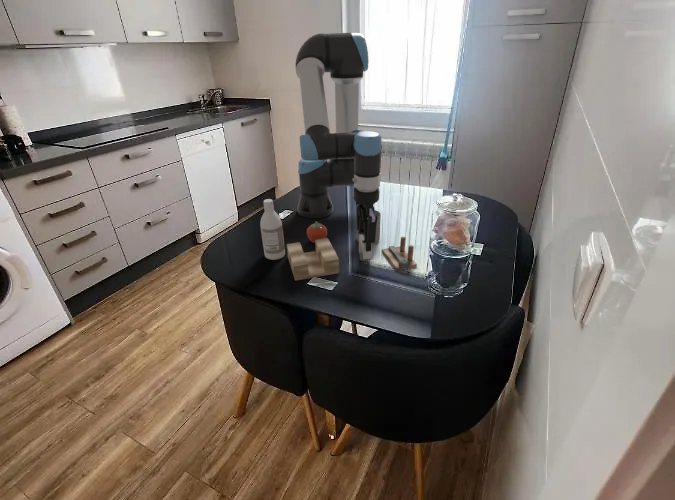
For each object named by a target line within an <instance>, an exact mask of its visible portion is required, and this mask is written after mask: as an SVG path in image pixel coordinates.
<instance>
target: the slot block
mask: <svg viewBox="0 0 675 500" xmlns="http://www.w3.org/2000/svg"><path fill="white" fill-rule="evenodd" d="M314 245H315V250H314V251H309V252H304V249H303V247H302V244H301V242H292V243H286V251H287V252H286V253H287V258H288V262H289V265H290V269H291V271H292V274H293V275H292V276H293V279H294V281H301V280H306V279H312V278H319V277H323V276H324V277H325V276H329V275H334V274H339V273H340V258H339V256H338V255H337V252H336V250H335V248H334V246H333V245H332V243H331V242H330V239H329V238H328V237H326V238H324V239H317V240H315V243H314Z"/></svg>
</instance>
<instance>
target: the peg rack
mask: <svg viewBox="0 0 675 500" xmlns="http://www.w3.org/2000/svg"><path fill="white" fill-rule="evenodd" d="M406 239H407V238H406V236H401V237H400V243H399V245H398V246H394V245H389V246H388V248H387V247H386V248H382V250H381V252H382V254H384V257H385V258H386V259H387V260H388V262H389V264H391V265H392V267H393V268H394V270H396V271H402V270H406V269H411V268H417V266H418V264H417V262H415V260H414V259H413V258H414V249H415V248H414V247H415V246H414V245H412V244H409V245H408V247H407V248H408V251H406Z"/></svg>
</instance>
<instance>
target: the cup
mask: <svg viewBox="0 0 675 500" xmlns="http://www.w3.org/2000/svg"><path fill="white" fill-rule="evenodd" d="M376 215H377V217H378V219H377V224H376V237H375V243H372V245H377V243H379V242H380V239H381V237H380V236H381V217H382V214H381V211H378V210H377V209H375V211H374V216H376ZM359 235H360V234H359V233H358V230H357V229H356V241H357V242H358V243H359Z"/></svg>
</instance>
